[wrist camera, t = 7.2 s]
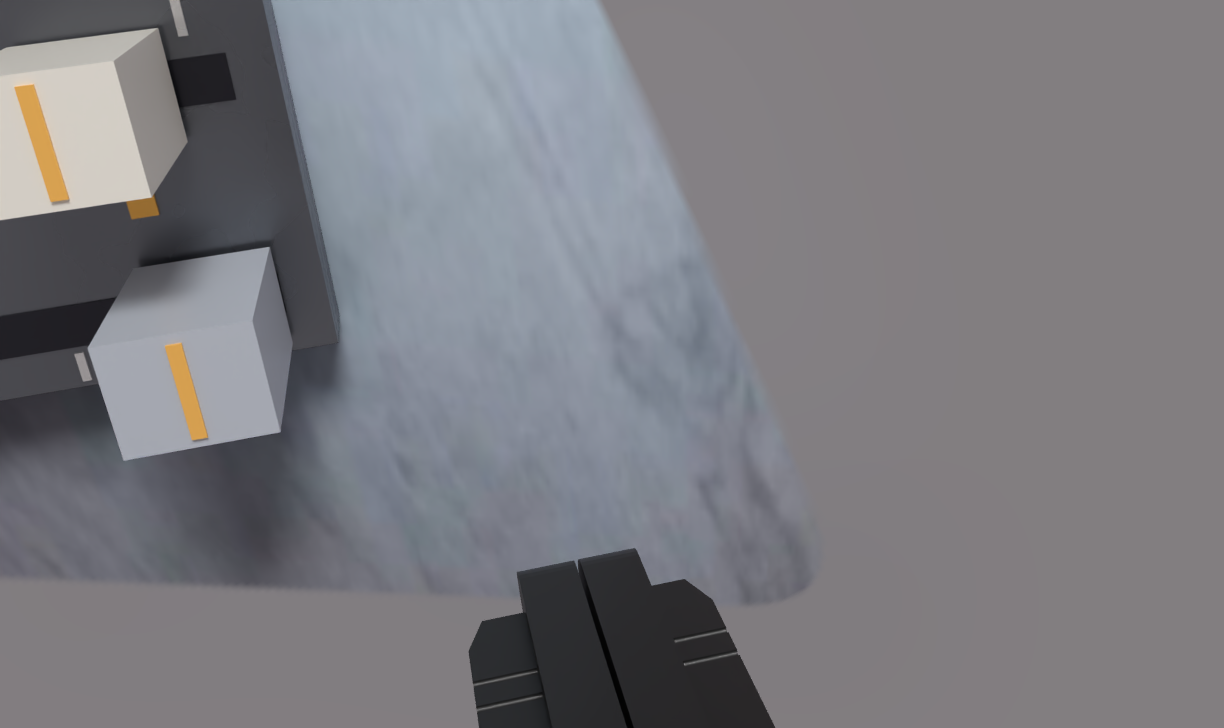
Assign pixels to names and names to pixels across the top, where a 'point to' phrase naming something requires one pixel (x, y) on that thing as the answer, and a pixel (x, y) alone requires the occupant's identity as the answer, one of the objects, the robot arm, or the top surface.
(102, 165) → the ivory cap
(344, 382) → the top surface
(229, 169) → the fader console
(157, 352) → the slate fader cap
